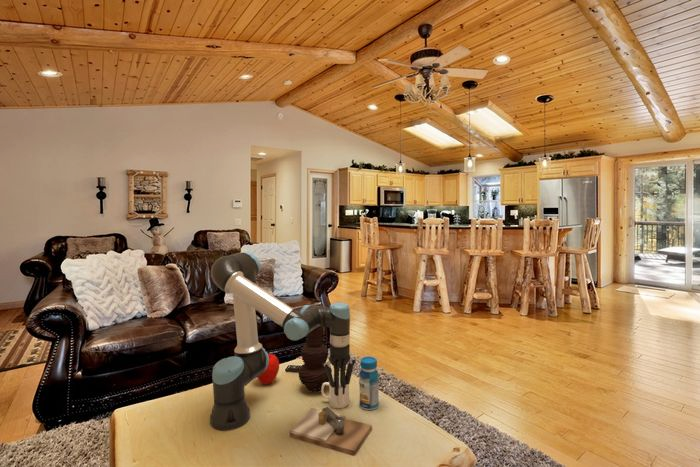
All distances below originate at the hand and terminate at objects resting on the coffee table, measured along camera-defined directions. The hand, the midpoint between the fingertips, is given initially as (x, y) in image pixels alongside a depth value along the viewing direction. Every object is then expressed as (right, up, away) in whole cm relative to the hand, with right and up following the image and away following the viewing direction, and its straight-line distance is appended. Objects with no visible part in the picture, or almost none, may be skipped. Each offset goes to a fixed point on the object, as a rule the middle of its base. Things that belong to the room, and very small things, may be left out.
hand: (339, 402), depth 147 cm
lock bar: (-2, -7, -5) cm, 9 cm away
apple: (-35, -6, +34) cm, 49 cm away
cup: (-2, -7, +15) cm, 16 cm away
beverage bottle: (+12, -7, +12) cm, 19 cm away
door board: (-3, -9, -6) cm, 11 cm away
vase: (-12, -6, +27) cm, 30 cm away
